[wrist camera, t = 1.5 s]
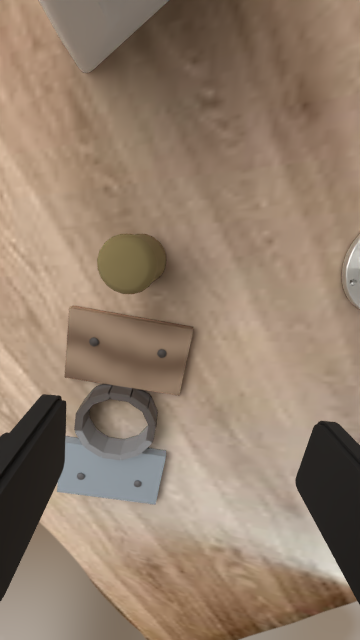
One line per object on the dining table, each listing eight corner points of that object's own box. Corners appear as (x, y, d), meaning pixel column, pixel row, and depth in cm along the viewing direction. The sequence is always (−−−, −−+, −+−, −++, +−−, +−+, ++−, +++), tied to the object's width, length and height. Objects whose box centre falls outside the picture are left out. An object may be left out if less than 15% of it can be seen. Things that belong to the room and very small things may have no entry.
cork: (152, 292, 32) (140, 314, 21) (109, 269, 31) (75, 281, 21) (175, 249, 31) (174, 251, 20) (130, 224, 30) (104, 212, 19)
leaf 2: (65, 411, 37) (56, 425, 34) (171, 427, 38) (170, 442, 35) (60, 484, 41) (51, 502, 38) (156, 497, 42) (154, 515, 39)
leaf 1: (73, 305, 32) (62, 311, 29) (192, 326, 33) (194, 334, 31) (65, 413, 37) (56, 427, 34) (170, 429, 38) (170, 444, 35)
